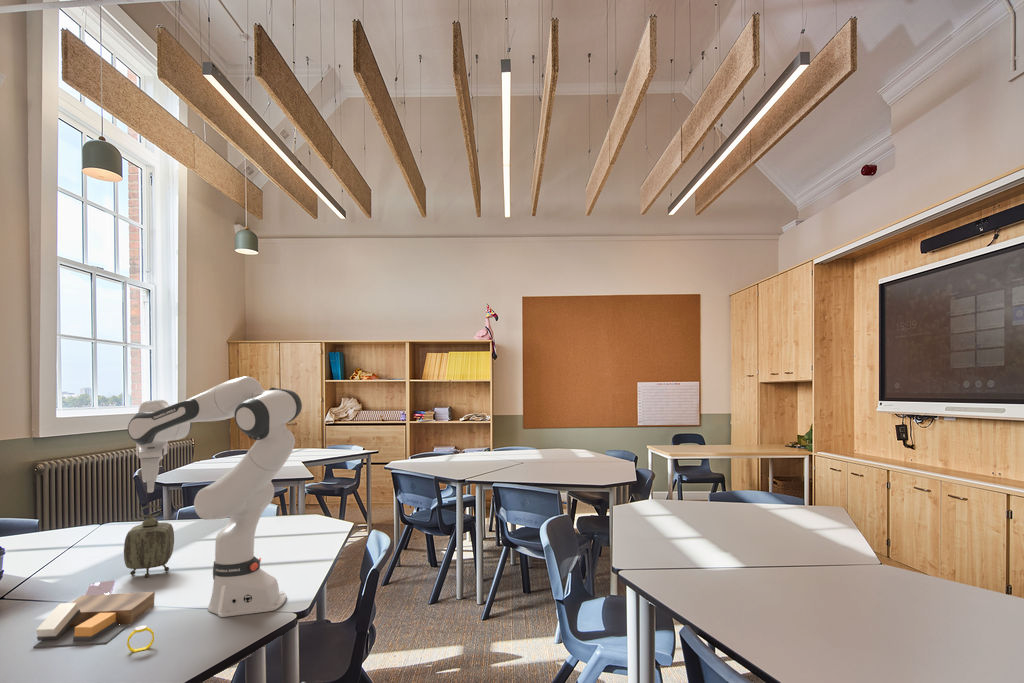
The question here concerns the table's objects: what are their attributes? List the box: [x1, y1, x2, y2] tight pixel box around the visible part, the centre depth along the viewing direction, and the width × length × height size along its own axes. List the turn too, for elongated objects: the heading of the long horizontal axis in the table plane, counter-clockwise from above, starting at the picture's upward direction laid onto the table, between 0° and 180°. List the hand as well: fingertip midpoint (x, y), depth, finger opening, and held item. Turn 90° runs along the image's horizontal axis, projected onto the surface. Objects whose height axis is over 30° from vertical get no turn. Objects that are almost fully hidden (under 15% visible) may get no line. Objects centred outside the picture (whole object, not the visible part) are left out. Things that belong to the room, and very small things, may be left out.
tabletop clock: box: [123, 504, 175, 579], centre depth 210 cm, size 14×9×25 cm, turn 111°
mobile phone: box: [84, 580, 116, 595], centre depth 196 cm, size 8×1×15 cm
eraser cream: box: [35, 602, 81, 642], centre depth 162 cm, size 5×10×4 cm, turn 4°
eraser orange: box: [73, 613, 117, 641], centre depth 162 cm, size 5×10×4 cm, turn 0°
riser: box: [69, 591, 156, 627], centre depth 174 cm, size 21×14×4 cm, turn 97°
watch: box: [126, 624, 155, 654], centre depth 153 cm, size 6×3×6 cm, turn 124°
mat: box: [33, 624, 130, 649], centre depth 161 cm, size 18×12×1 cm, turn 97°
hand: (150, 491), depth 190 cm, fingers closed
